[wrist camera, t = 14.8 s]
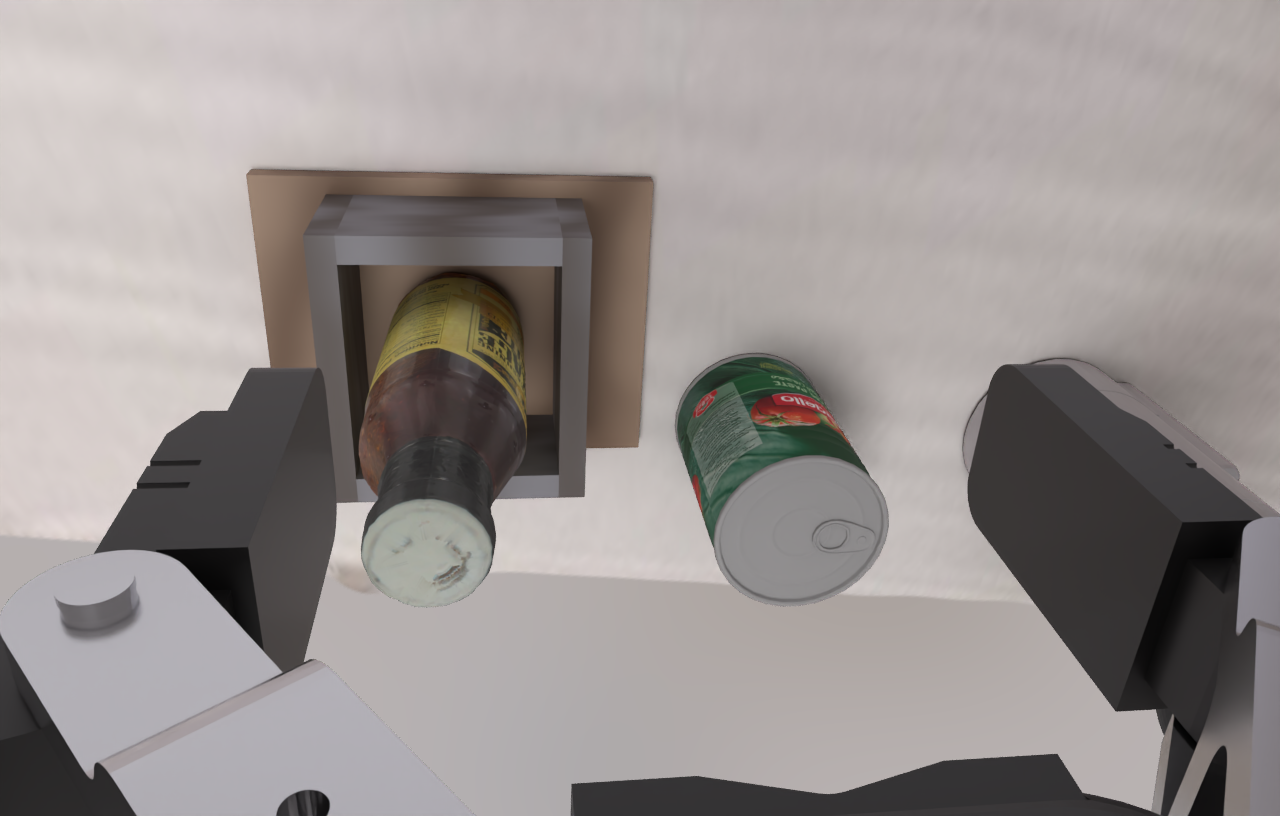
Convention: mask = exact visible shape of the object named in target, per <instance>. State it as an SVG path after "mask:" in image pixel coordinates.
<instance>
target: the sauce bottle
mask: <svg viewBox="0 0 1280 816" xmlns="http://www.w3.org/2000/svg"><path fill="white" fill-rule="evenodd" d="M525 375H526V373H525V362H524V337H523V331H522V327H521V323H520V320H519V317H518V315H517V314H516V312H515V310H514V309H513V307H512V305H511V303H510V302H509V300H508V299H507V298H506V297H505V295H504V294H503V293H502V292H501V291H500V289H499V288H497V287H496V286H495V285H494V284H493V283H489V282H487V281H485V280H482V279H481V278H477V277H474V276H471V275H464V274H457V273H443V274H440V275H438V276H435V277H433V278H431V279H427V281H425V282H423V283H421V284H420V285H418V286H417V287H416V288H414V289H413V290H412V291H411V292H410V293H409V294H407V295H406V296H405V297H404V298H403V300H402V301H401V302H400V303H399V305H398V308H397V310H396V311H395V313H394V315H393V318H392V321H391V324H390V327H389V330H388V334H387V337H386V340H385V343H384V346H383V349H382V353H381V356H380V359H379V362H378V365H377V368H376V371H375V375H374V378H373V381H372V384H371V387H370V391H369V394H368V397H367V401H366V405H365V414H364V420H363V423H362V427H361V432H360V439H359V457H360V463H361V469H362V473H363V477H364V479H365V480H366V482H367V484H368V485H369V486H370V488H371V490H372V491H373V492H374V493H375V494H376V496H378V500H377V501H376V502H375V504H374V505H373V507H372V509H371V510H370V512H369V513H368V516H367V519H366V521H365V526H364V532H363V536H362V545H361V559H362V562H363V565H364V567H365V570H366V572H367V574H368V576H369V578H370V580H371V582H372V583H373V584H374V585H375V586H376V587H377V588H378V589H379V590H380V591H381V592H382V593H384V594H385V595H387V596H388V597H390V598H393V599H396V600H398V601H400V602H402V603H405V604H408V605H411V606H414V607H438V606H446V605H449V604H451V603H454V602H457V601H460V600H461V599H463V598H465V597H467V596H469V595H470V594H471V593H472V592H473V591H474V590H475V589H476V588H477V587H478V586H479V585H480V584H481V582H482V581H483V580H484V578H485V577H486V576H487V574H488V573H489V571H490V568H491V565H492V559H493V555H494V548H495V542H496V531H495V525H494V521H493V518H492V515H491V509H490V508H491V506H492V503H493V502H494V501H495V499H496V498H497V496H498V495H499V494H500V492H501V491H502V490H503V488H504V487H505V485H506V484H507V483H508V481H509V480H510V479H511V477H512V476H513V475H514V473H515V472H516V471H517V469H518V468H519V466H520V464H521V463H522V460H523V458H524V454H525V451H526V444H527V418H526V412H527V410H526V389H525V387H526V384H525Z"/></svg>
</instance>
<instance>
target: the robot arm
mask: <svg viewBox="0 0 1280 816" xmlns="http://www.w3.org/2000/svg"><path fill="white" fill-rule="evenodd" d="M963 453H964V461H965V465H966V468H967V470H968V473H969V477H968V501H969V507H970V511H971V514H972V517H973V520H974V522H975V524H976V525H977V527H978V528H979V530H980V531H981V532H982V534H983V535H984V536H985V538H986V539H987V540H988V542H989V543H990V544H991V546H992V547H993V548H994V550H995V551H996V552H997V554H998V555H999V556H1000V558H1001V559H1002V560H1003V562H1004V563H1005V564H1006V566H1007V567H1008V568H1009V570H1010V571H1011V572H1012V574H1013V575H1014V576H1015V578H1016V579H1017V580H1018V582H1019V583H1020V584H1021V586H1022V587H1023V588H1024V590H1025V591H1026V592H1027V594H1028V595H1029V596H1030V598H1031V599H1032V600H1033V602H1034V603H1035V604H1036V606H1037V607H1038V608H1039V610H1040V611H1041V612H1042V614H1043V615H1044V616H1045V617H1046V619H1047V620H1048V622H1049V623H1050V624H1051V625H1052V627H1053V628H1054V630H1055V631H1056V632H1057V634H1058V635H1059V636H1060V638H1061V639H1062V640H1063V642H1064V643H1065V644H1066V646H1067V647H1068V648H1069V650H1070V651H1071V652H1072V654H1073V655H1074V656H1075V658H1076V659H1077V660H1078V661H1079V663H1080V664H1081V666H1082V667H1083V668H1084V670H1085V671H1086V672H1087V674H1088V675H1089V676H1090V678H1091V679H1092V680H1093V682H1094V683H1095V684H1096V685H1097V687H1098V688H1099V690H1100V691H1101V692H1102V693H1103V695H1104V696H1105V698H1106V699H1107V700H1108V702H1109V703H1110V704H1111V706H1112V707H1113V708H1114V710H1115V711H1134V710H1152V709H1156V712H1157V716H1158V720H1159V723H1160V726H1161V729H1162V732H1163V734H1164V738H1163V741H1162V745H1161V751H1160V758H1159V765H1158V771H1157V779H1156V784H1155V791H1154V798H1153V804H1152V811H1148V810H1145V809H1142V808H1139V807H1136V806H1133V805H1130V804H1127V803H1124V802H1121V801H1116V800H1112V799H1108V798H1104V797H1100V796H1096V795H1090V794H1085V793H1082V792H1081V790H1080V789H1079V787H1078V786H1077V784H1076V782H1075V781H1074V779H1073V777H1072V776H1071V775H1070V773H1069V771H1068V770H1067V768H1066V767H1065V765H1064V764H1063V762H1062V760H1061V759H1060V757H1059V756H1058V754H1048V755H1031V756H1015V757H999V758H983V759H967V760H950V761H942V762H939V763H936V764H932V765H930V766H926V767H923V768H920V769H916V770H913V771H910V772H907V773H903V774H900V775H897V776H894V777H891V778H887V779H884V780H881V781H878V782H875V783H871V784H868V785H865V786H862V787H859V788H855V789H853V790H849V791H846V792H842V793H837V794H818V793H811V792H804V791H797V790H790V789H783V788H776V787H769V786H762V785H755V784H747V783H741V782H734V781H727V780H720V779H713V778H705V777H699V776H691V777H675V778H659V779H643V780H627V781H610V782H594V783H578V784H572V791H571V816H1280V514H1279V513H1278V512H1276V511H1275V510H1274V509H1273V508H1271V507H1270V506H1269V505H1268V504H1266V503H1265V502H1264V501H1263V500H1261V499H1260V498H1259V497H1258V496H1256V495H1255V494H1254V493H1253V492H1251V491H1250V490H1249V489H1248V488H1246V487H1245V486H1244V485H1243V484H1241V483H1240V482H1239V477H1240V476H1239V471H1238V469H1237V468H1236V467H1235V465H1233V464H1232V463H1231V462H1230V461H1228V460H1227V459H1226V458H1224V457H1223V456H1222V455H1221V454H1219V453H1218V452H1217V451H1216V450H1214V449H1213V448H1212V447H1210V446H1209V445H1208V444H1207V443H1205V442H1204V441H1203V440H1202V439H1200V438H1199V437H1198V436H1196V435H1195V434H1194V433H1193V432H1191V431H1190V430H1189V429H1187V428H1186V427H1185V426H1184V425H1182V424H1181V423H1180V422H1179V421H1177V420H1176V419H1175V418H1173V417H1172V416H1171V415H1170V414H1168V413H1167V412H1166V411H1165V410H1163V409H1162V408H1161V407H1159V406H1158V405H1157V404H1156V403H1154V402H1153V401H1152V400H1151V399H1149V398H1148V397H1147V396H1145V395H1144V394H1143V393H1142V392H1140V391H1139V390H1138V389H1136V388H1135V387H1134V386H1133V385H1131V384H1130V383H1116V382H1115V381H1113V380H1112V379H1111V378H1110V377H1108V376H1107V375H1106V374H1105V373H1103V372H1102V371H1101V370H1100V369H1098V368H1096V367H1094V366H1092V365H1090V364H1088V363H1085V362H1081V361H1077V360H1072V359H1053V360H1047V361H1042V362H1037V363H1034V364H1009V365H1003V366H1001V367H1000V368H999V369H998V370H997V371H996V372H995V374H994V376H993V378H992V380H991V382H990V386H989V390H988V394H987V395H986V396H985V397H984V398H983V400H982V401H981V402H980V403H979V404H978V406H977V408H976V409H975V411H974V413H973V415H972V416H971V418H970V420H969V423H968V426H967V429H966V432H965V436H964V445H963ZM336 507H337V505H336V485H335V475H334V465H333V455H332V446H331V436H330V426H329V416H328V406H327V396H326V388H325V381H324V377H323V374H322V371H321V369H320V368H251V369H249V371H248V372H247V374H246V376H245V378H244V380H243V382H242V384H241V386H240V388H239V390H238V391H237V393H236V395H235V397H234V399H233V401H232V403H231V405H230V407H229V409H228V411H200V412H199V413H197V414H196V415H194V416H193V417H191V418H190V419H188V420H187V421H185V422H184V423H182V424H181V425H179V426H178V427H177V428H175V429H174V430H172V431H171V432H169V433H168V434H166V436H165V438H164V439H163V441H162V443H161V444H160V446H159V447H158V449H157V451H156V452H155V454H154V456H153V457H152V459H151V461H150V466H147V467H146V469H145V471H144V472H143V474H142V475H141V477H140V479H139V480H138V482H137V489H133V490H132V492H131V494H130V495H129V497H128V498H127V500H126V502H125V503H124V505H123V507H122V508H121V510H120V512H119V513H118V515H117V517H116V518H115V520H114V522H113V523H112V525H111V526H110V528H109V530H108V531H107V533H106V535H105V536H104V538H103V540H102V541H101V543H100V545H99V546H98V548H97V550H96V551H95V553H94V554H92V555H88V556H84V557H81V558H78V559H74V560H71V561H68V562H65V563H63V564H60V565H58V566H55V567H53V568H51V569H49V570H47V571H45V572H43V573H42V574H40V575H38V576H36V577H35V578H33V579H32V580H30V581H29V582H27V583H26V584H25V585H23V586H22V587H21V588H20V589H19V590H17V591H16V592H15V593H14V594H13V596H12V597H11V598H10V599H9V600H8V601H7V603H6V604H5V606H4V607H3V609H2V611H1V614H0V816H476V815H475V814H474V813H473V812H472V811H471V810H470V809H469V808H468V807H467V806H466V805H465V804H464V803H463V802H462V801H461V800H460V799H459V798H458V797H457V796H456V795H455V794H454V793H453V792H452V791H451V790H450V789H449V788H448V787H447V786H446V785H445V784H444V783H443V782H442V781H441V780H440V779H439V778H438V777H437V776H436V775H435V774H434V772H433V771H431V770H430V768H429V767H427V765H426V764H425V763H424V762H423V761H422V760H421V759H420V758H419V757H418V756H417V755H416V754H415V753H414V752H413V751H412V750H411V749H410V748H409V747H408V746H407V745H406V744H405V743H404V742H403V741H402V740H401V739H400V738H399V737H398V736H397V735H396V734H395V733H394V732H393V731H392V730H391V729H390V728H389V727H388V726H387V725H386V724H385V723H384V722H383V721H382V720H381V719H380V718H379V717H378V716H377V714H376V713H375V712H374V711H372V709H371V708H370V707H368V706H367V704H366V703H365V702H364V701H363V700H362V699H361V698H360V697H359V696H358V695H357V694H356V693H355V692H354V691H353V690H352V689H351V688H350V687H349V686H348V685H347V684H346V683H345V682H344V681H343V680H342V679H341V678H340V677H339V676H338V675H337V674H336V673H335V672H334V671H333V670H332V669H331V668H330V667H329V666H327V665H326V664H324V663H323V662H321V661H318V660H316V659H310V660H308V661H306V662H304V658H305V654H306V650H307V646H308V642H309V638H310V634H311V630H312V626H313V622H314V618H315V614H316V610H317V606H318V602H319V598H320V594H321V590H322V587H323V583H324V579H325V575H326V571H327V567H328V563H329V559H330V555H331V551H332V547H333V542H334V537H335V529H336ZM303 662H304V663H303Z"/></svg>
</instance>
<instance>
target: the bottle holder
mask: <svg viewBox="0 0 1280 816" xmlns="http://www.w3.org/2000/svg"><path fill="white" fill-rule="evenodd" d="M246 177H247V185H248V193H249V201H250V208H251V216H252V224H253V232H254V240H255V248H256V255H257V263H258V271H259V279H260V287H261V295H262V302H263V310H264V318H265V326H266V334H267V342H268V349H269V357H270V365H271V368H320V369H321V371H322V374H323V377H324V381H325V388H326V396H327V406H328V416H329V426H330V436H331V446H332V455H333V465H334V475H335V485H336V503H347V502H376V501H377V500H378V496H376V494H375V493H374V492H373V491H372V490H371V488H370V486H369V485H368V484H367V482H366V480H365V479H364V477H363V473H362V469H361V463H360V457H359V439H360V432H361V427H362V423H363V420H364V414H365V405H366V401H367V397H368V394H369V391H370V387H371V384H372V381H373V378H374V375H375V371H376V368H377V365H378V362H379V359H380V356H381V353H382V349H383V346H384V343H385V340H386V337H387V334H388V330H389V327H390V324H391V321H392V318H393V315H394V313H395V311H396V310H397V308H398V305H399V303H400V302H401V301H402V300H403V298H404V297H405V296H406V295H407V294H409V293H410V292H411V291H412V290H413V289H414V288H416V287H417V286H418V285H420V284H421V283H423V282H425V281H427V279H431V278H433V277H435V276H438V275H440V274H443V273H457V274H464V275H471V276H474V277H477V278H481V279H482V280H485V281H487V282H489V283H493V284H494V285H495V286H496V287H497V288H499V289H500V291H501V292H502V293H503V294H504V295H505V297H506V298H507V299H508V300H509V302H510V303H511V305H512V307H513V309H514V310H515V312H516V314H517V315H518V317H519V320H520V323H521V327H522V331H523V337H524V362H525V373H526V375H525V384H526V387H525V389H526V410H527V412H526V418H527V444H526V451H525V454H524V458H523V460H522V463H521V464H520V466H519V468H518V469H517V471H516V472H515V473H514V475H513V476H512V477H511V479H510V480H509V481H508V483H507V484H506V485H505V487H504V488H503V490H502V491H501V492H500V494H499V495H498V496H497V498H496V499H517V498H560V497H584V496H585V463H586V448H628V447H638V443H639V426H640V408H641V391H642V373H643V356H644V338H645V321H646V303H647V286H648V268H649V251H650V233H651V216H652V198H653V181H652V179H651V177H621V176H568V175H516V174H464V173H412V172H360V171H308V170H256V169H251V170H250V171H249V172H248V174H247V175H246Z"/></svg>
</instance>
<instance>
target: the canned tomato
mask: <svg viewBox="0 0 1280 816" xmlns="http://www.w3.org/2000/svg"><path fill="white" fill-rule="evenodd" d="M675 431H676V439H677V442H678V445H679V448H680V450H681V453H682V455H683V458H684V461H685V465H686V467H687V470H688V474H689V476H690V479H691V482H692V485H693V489H694V491H695V494H696V498H697V500H698V503H699V507H700V509H701V512H702V516H703V518H704V521H705V525H706V528H707V530H708V533H709V537H710V539H711V542H712V545H713V547H714V550H715V557H716V560H717V562H718V565H719V568H720V570H721V572H722V573H723V575H724V576H725V577H726V579H727V580H728V582H729V583H730V584H731V585H732V586H733V587H735V588H736V589H737V590H738V591H739V592H741V593H742V594H744V595H746V596H748V597H749V598H751V599H754V600H756V601H759V602H762V603H765V604H770V605H777V606H801V605H807V604H812V603H816V602H819V601H822V600H825V599H828V598H831V597H833V596H835V595H837V594H838V593H840V592H842V591H844V590H846V589H847V588H849V587H850V586H851V585H853V584H854V583H855V582H857V581H858V580H859V579H860V578H861V577H862V576H863V575H864V574H865V573H866V572H867V571H868V570H869V569H870V568H871V567H872V565H873V564H874V562H875V561H876V559H877V558H878V556H879V555H880V553H881V550H882V548H883V546H884V544H885V541H886V537H887V532H888V527H889V519H888V509H887V505H886V501H885V498H884V496H883V494H882V492H881V490H880V489H879V487H878V485H877V484H876V483H875V482H874V481H873V480H872V478H871V477H870V475H869V473H868V472H867V470H866V468H865V466H864V465H863V464H862V462H861V460H860V459H859V457H858V456H857V454H856V453H855V451H854V449H853V448H852V446H851V445H850V443H849V441H848V440H847V439H846V437H845V435H844V434H843V432H842V431H841V429H840V428H839V426H838V424H837V423H836V422H835V420H834V418H833V416H832V415H831V414H830V412H829V410H828V409H827V407H826V406H825V404H824V402H823V401H822V400H821V398H820V396H819V394H818V393H817V392H816V390H815V388H814V386H813V385H812V383H811V381H810V379H809V378H808V377H807V376H806V375H805V374H804V373H803V372H802V370H801V369H799V368H798V367H796V366H795V365H793V364H792V363H791V362H789V361H786V360H784V359H782V358H779V357H777V356H772V355H767V354H743V355H737V356H733V357H730V358H727V359H724V360H722V361H719V362H718V363H716V364H714V365H712V366H711V367H709V368H707V369H706V370H705V371H704V372H702V373H701V374H700V375H699V376H698V377H696V378H695V380H694V381H693V382H692V383H691V384H690V386H689V387H688V388H687V389H686V391H685V393H684V395H683V397H682V398H681V400H680V403H679V406H678V409H677V412H676V421H675Z"/></svg>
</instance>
